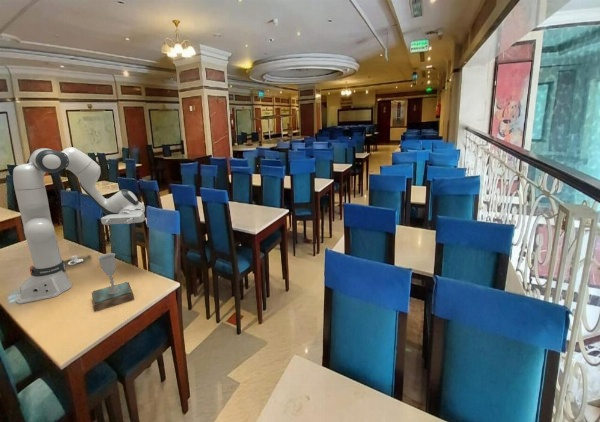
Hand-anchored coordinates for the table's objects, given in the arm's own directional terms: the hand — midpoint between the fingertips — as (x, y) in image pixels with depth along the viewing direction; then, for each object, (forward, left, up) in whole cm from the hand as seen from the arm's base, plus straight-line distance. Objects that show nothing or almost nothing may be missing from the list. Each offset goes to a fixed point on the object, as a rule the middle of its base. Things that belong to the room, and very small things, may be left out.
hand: (116, 223), depth 162 cm
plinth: (-9, -17, -32) cm, 37 cm away
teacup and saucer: (-24, +46, -33) cm, 61 cm away
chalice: (-8, -18, -28) cm, 34 cm away
